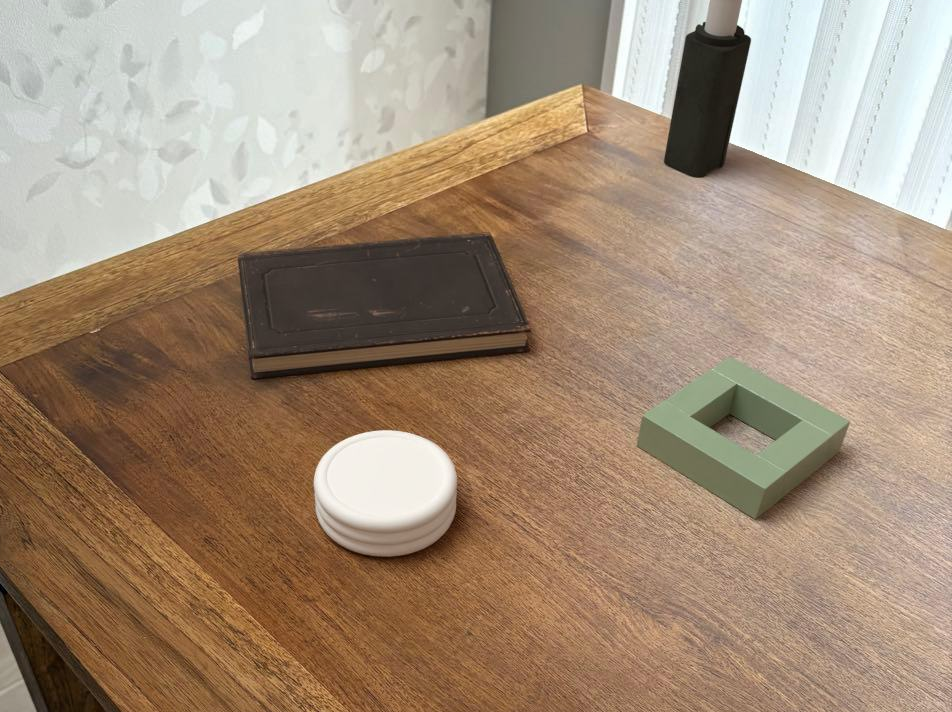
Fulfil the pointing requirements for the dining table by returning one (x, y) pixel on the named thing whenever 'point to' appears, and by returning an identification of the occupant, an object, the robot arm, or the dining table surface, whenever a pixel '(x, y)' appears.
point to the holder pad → (728, 464)
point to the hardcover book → (378, 304)
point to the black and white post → (708, 91)
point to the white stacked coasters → (385, 493)
